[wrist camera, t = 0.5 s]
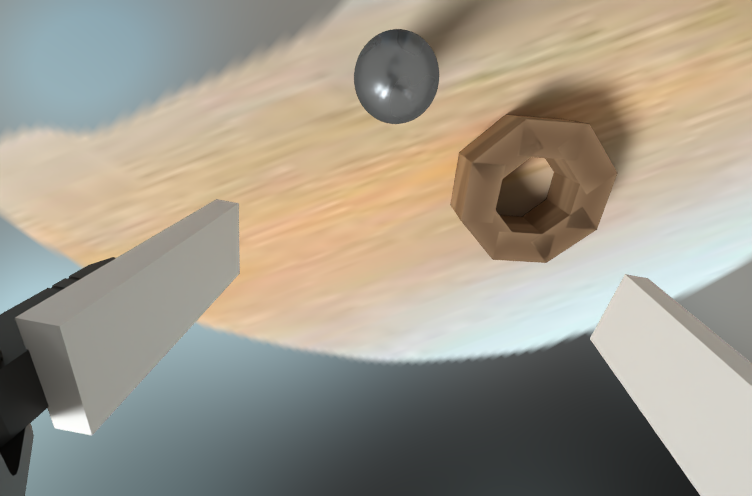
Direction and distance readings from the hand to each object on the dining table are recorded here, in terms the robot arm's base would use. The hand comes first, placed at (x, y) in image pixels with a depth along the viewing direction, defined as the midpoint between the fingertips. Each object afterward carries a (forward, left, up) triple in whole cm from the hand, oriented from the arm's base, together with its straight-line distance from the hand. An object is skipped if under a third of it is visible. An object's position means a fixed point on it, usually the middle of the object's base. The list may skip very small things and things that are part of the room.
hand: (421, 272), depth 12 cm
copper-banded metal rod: (-3, -5, -22) cm, 23 cm away
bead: (-7, +10, -22) cm, 25 cm away
